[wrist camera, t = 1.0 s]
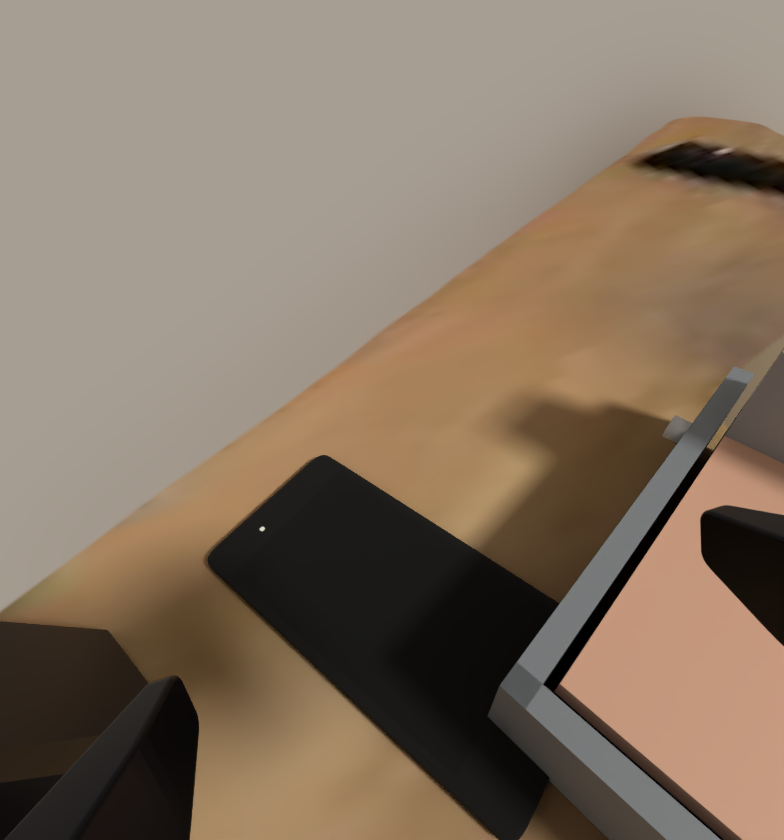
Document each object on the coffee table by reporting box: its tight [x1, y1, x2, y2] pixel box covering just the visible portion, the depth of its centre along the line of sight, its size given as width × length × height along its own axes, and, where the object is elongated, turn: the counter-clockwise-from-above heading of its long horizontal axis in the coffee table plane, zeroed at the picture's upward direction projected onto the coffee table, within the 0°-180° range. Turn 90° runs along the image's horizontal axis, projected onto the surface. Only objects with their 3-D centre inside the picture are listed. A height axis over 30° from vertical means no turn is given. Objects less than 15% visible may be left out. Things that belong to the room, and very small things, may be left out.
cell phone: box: [208, 455, 596, 840], centre depth 23 cm, size 9×18×1 cm, turn 51°
